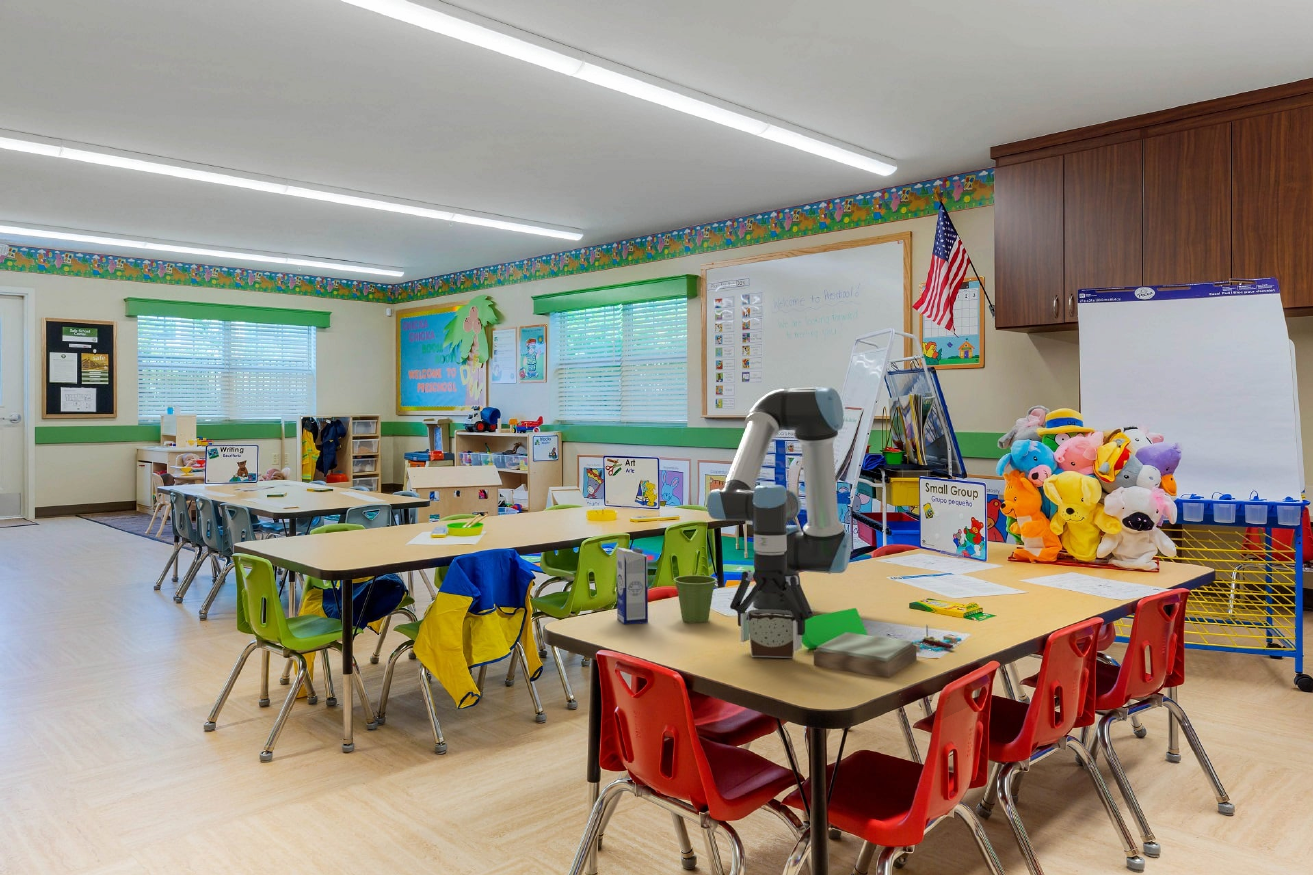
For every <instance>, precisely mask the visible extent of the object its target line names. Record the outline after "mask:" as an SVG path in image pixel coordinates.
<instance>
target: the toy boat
mask: <svg viewBox="0 0 1313 875" xmlns="http://www.w3.org/2000/svg"><path fill="white" fill-rule="evenodd" d="M925 625H926V627H925V628H926V632H925V633H926V636H924V637H923V638H922V639H918V640H912V641H911V642H913V645H916V653H917V652H920V651H921V650H924V648H925V650H928V649H931V650H930V651H932V650H933V651H932V652H939V650H941V651H944V650H943V649H945V650H950V649H953V648H954V644H957V642H961V641H962V637H955V636H951V635H948V634H947V635H943V638H942V640H940V639H938V638H936V637H934V636H929V624H925ZM921 643H922V644H921ZM953 643H954V644H953ZM931 645H934V646H931Z"/></svg>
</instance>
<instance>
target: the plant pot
mask: <svg viewBox="0 0 1313 875" xmlns="http://www.w3.org/2000/svg"><path fill="white" fill-rule="evenodd" d="M673 581H674V583H675V587H676V590H677V595H678V600H679V601H678V602H679V608H680V614H681V619H682V621H684V622H686V623H691V624H693V623H694V624H695V623H697V622H698V623H701V624H702V623H705V622H707V621H709V618H710V613H711V607H712V599H713V593H714V590H715V585H716V582H717V581H718V579H717V578H716V577H713V576H708V575H701V574H700V575H699V574H697V575H695V574H692V575H691V574H690V575H683V576H682V575H681V576H677V577H674V578H673Z"/></svg>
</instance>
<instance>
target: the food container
mask: <svg viewBox="0 0 1313 875" xmlns="http://www.w3.org/2000/svg"><path fill="white" fill-rule="evenodd" d="M747 612H748V614H747V616H746V620H748V622H749V641H750V644H749V645H750V653H751V657H752V658H753V657H754V658H776V659H777V658H781V659H782V658H783V659H786V658H787V659H793V658H794V655H795V654H794V653H795V650H793V621H795V620H796V618H795V617H794V615H793V614H792V613H791V611H790V610H788V611H785V610H768V609H751V610H747Z"/></svg>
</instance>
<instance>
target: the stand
mask: <svg viewBox="0 0 1313 875" xmlns="http://www.w3.org/2000/svg"><path fill="white" fill-rule="evenodd" d="M916 660H917V652H916V645H913V642H912V641H910V640H902V639H897V638H889V637H883V636H882V637H881V636H874V635H868V634H867V635H862V634H855V633H848V632H846V633H844V634H842V635H840V636H838V637H836V638H834V639H832V640H830V641H828V642H826V643H824V644H822V645H820V646H818V647H817V648H815V649H813V665H814V666H816V667H823V668H829V669H834V670H840V671H845V672H851V673H857V674H863V675H869V676H875V677H881V678H884V679H885V678H887V679H889V678H890V677H892V676H893V675H895V674H896V673H898V672H899V671H901V670H903V669H904V668H906V667H907V666H908V665H911V664H912V663H913V662H915V661H916Z"/></svg>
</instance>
